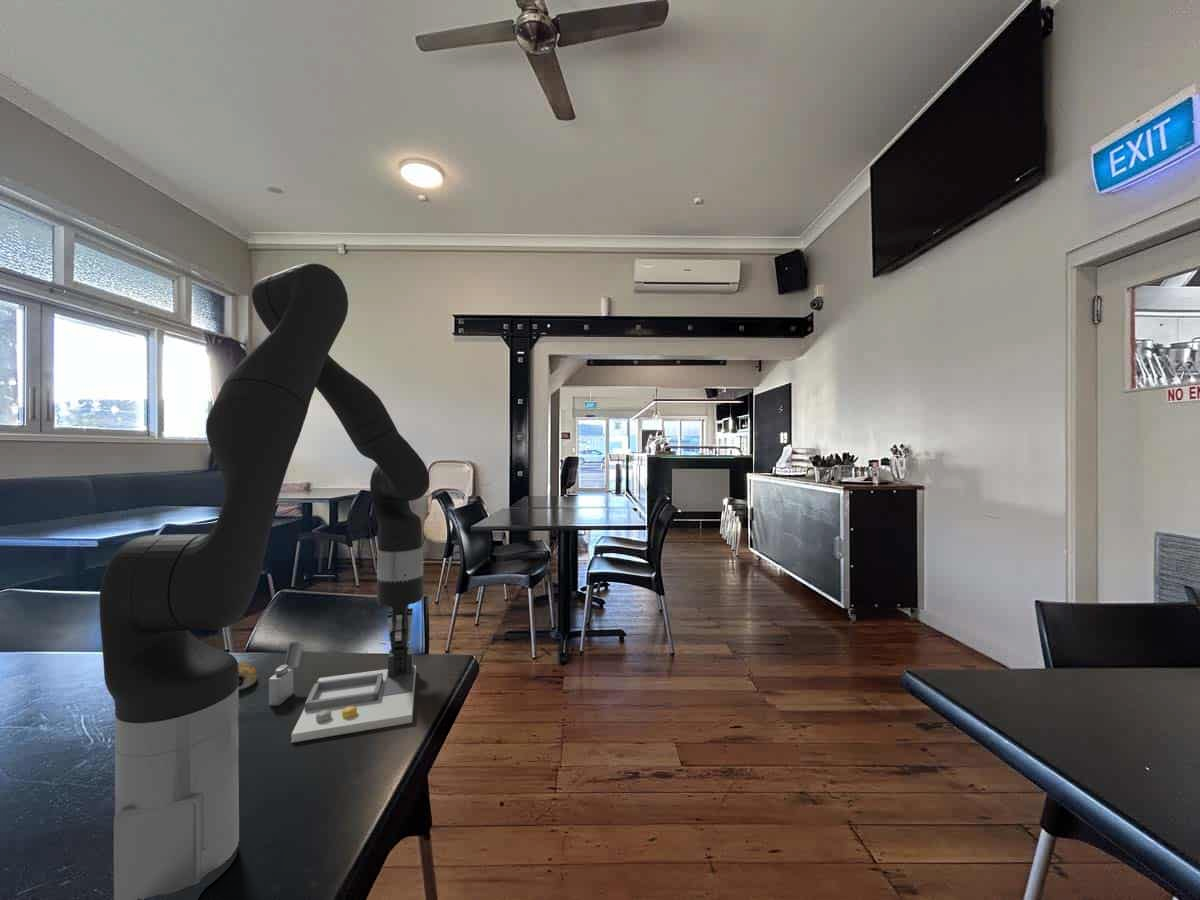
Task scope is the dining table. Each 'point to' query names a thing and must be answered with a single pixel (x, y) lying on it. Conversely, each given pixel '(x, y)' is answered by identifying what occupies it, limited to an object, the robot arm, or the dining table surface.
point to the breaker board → (356, 704)
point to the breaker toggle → (391, 663)
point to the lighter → (284, 675)
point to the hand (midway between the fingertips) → (400, 672)
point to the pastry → (246, 675)
